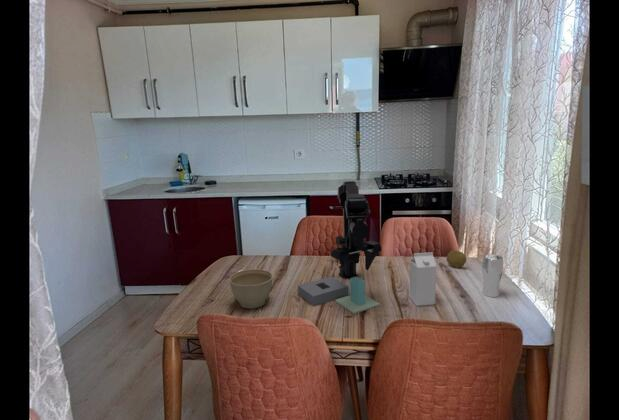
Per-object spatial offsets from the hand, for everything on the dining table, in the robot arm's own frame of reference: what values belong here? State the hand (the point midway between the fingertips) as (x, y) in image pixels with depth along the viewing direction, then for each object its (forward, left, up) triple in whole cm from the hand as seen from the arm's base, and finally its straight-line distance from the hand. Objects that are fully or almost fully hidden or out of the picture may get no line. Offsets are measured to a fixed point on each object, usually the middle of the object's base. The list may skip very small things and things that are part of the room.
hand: (357, 272), depth 136 cm
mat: (0, 0, -12) cm, 12 cm away
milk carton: (-21, +12, -13) cm, 27 cm away
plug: (0, 0, -12) cm, 12 cm away
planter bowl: (+33, -22, -13) cm, 42 cm away
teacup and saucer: (+29, -51, -13) cm, 60 cm away
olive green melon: (-59, -4, -13) cm, 61 cm away
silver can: (-47, +22, -13) cm, 53 cm away
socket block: (+7, -13, -12) cm, 19 cm away
